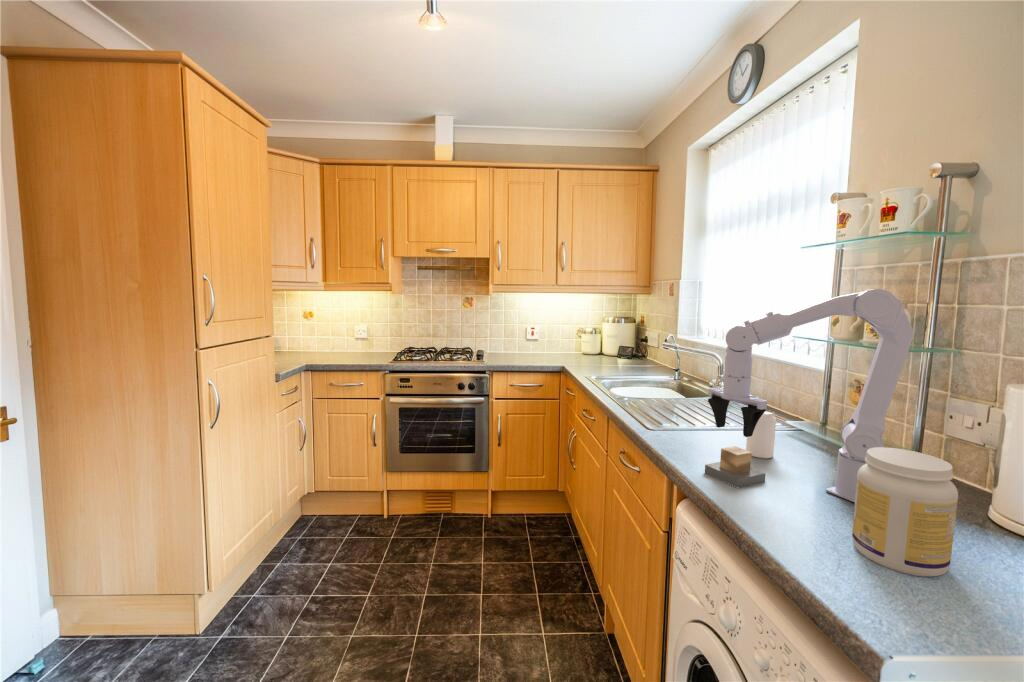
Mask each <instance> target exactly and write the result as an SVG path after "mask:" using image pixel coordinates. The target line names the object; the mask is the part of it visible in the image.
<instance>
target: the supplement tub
mask: <svg viewBox="0 0 1024 682" xmlns="http://www.w3.org/2000/svg"><path fill="white" fill-rule="evenodd" d="M865 461H866V463H867V464H865V465H863V466H862V467H860V469H859V470H858V474H857V486H856V497H855V503H854V510H853V511H854V513H853V520H852V521H853V522H852V533H851V537H852V538H851V539H852V543H853V545H854V546H855V548H856V549H857V550H858V551H859V553H861V554H862V556H864V557H866V558H867V559H869V560H871V561H872V562H874V563H876V564H878V565H881V566H883V567H885V568H888V569H891V570H894V571H896V572H899V573H902V574H907V575H912V576H915V577H916V576H917V577H928V578H929V577H938V576H942V575H945V574H946V573H947V572H948V571H949V568H950V566H951V563H952V562H951V560H952V559H951V558H952V551H953V543H954V535H955V534H954V533H955V528H956V526H955V525H956V516H957V509H958V500H959V491H958V489H957V487H956V486H955V484H954V482H952V481H951V480H953V479H954V474H953V471H954V469H953V468H954V467H953V465H952V464H951V463H950V462H948V461H946V460H945V459H944V460H943V459H942V458H939V457H937V456H933V455H931V454H926V453H923V452H918V451H914V450H909V449H903V448H897V447H896V448H895V447H887V446H884V447H875V448H870V449H868V450H867V454H866V457H865Z"/></svg>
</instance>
